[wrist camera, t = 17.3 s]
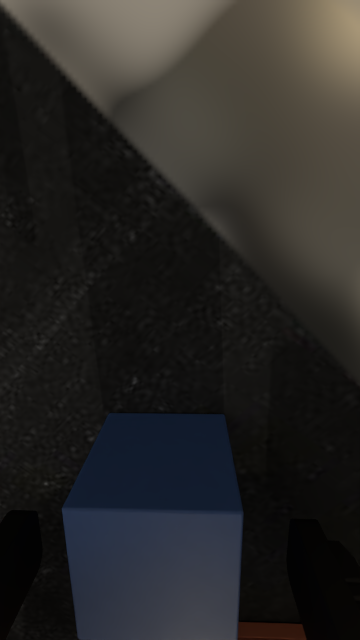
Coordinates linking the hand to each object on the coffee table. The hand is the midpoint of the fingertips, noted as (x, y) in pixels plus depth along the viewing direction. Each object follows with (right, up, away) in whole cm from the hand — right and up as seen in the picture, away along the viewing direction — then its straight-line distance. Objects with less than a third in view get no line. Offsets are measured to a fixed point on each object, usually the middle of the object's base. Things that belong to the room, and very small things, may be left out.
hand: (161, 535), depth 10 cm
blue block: (0, +1, +3) cm, 3 cm away
